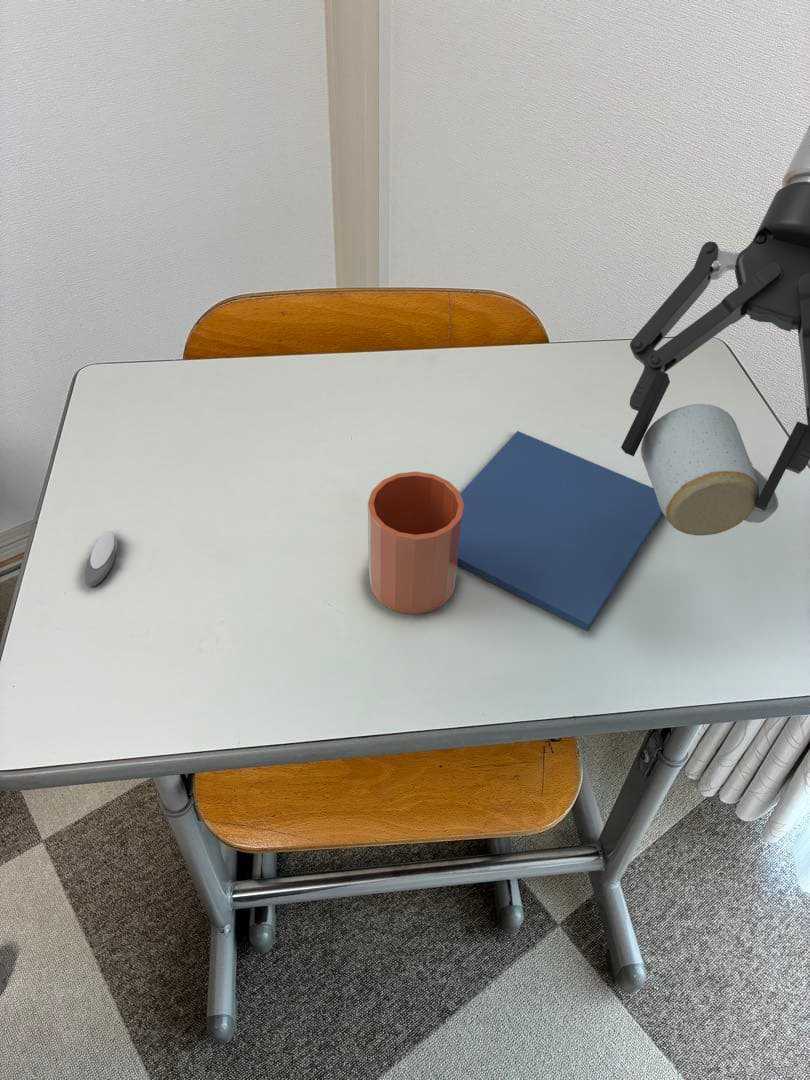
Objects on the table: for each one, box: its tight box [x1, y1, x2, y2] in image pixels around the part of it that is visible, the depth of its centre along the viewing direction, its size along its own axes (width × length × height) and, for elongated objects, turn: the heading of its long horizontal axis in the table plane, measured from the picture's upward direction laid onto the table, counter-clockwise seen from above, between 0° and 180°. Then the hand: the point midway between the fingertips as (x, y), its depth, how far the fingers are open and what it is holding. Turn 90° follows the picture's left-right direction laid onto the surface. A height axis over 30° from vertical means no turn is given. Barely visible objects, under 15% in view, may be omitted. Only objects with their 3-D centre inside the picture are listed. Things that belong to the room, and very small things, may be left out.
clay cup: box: [367, 471, 464, 615], centre depth 71 cm, size 8×8×10 cm
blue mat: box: [458, 430, 664, 631], centre depth 79 cm, size 18×20×1 cm
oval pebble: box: [84, 530, 118, 587], centre depth 75 cm, size 6×2×1 cm, turn 174°
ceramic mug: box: [640, 403, 779, 537], centre depth 62 cm, size 11×8×8 cm
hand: (691, 478), depth 61 cm, fingers closed on ceramic mug, 10 cm apart
